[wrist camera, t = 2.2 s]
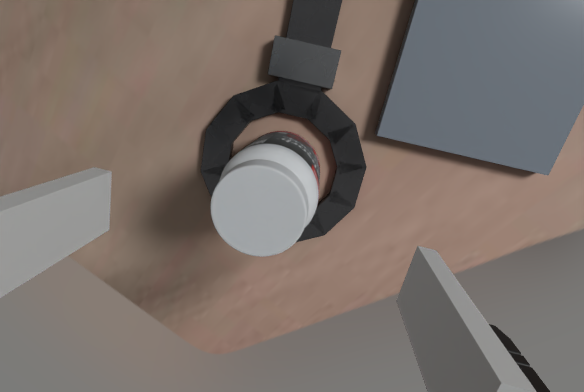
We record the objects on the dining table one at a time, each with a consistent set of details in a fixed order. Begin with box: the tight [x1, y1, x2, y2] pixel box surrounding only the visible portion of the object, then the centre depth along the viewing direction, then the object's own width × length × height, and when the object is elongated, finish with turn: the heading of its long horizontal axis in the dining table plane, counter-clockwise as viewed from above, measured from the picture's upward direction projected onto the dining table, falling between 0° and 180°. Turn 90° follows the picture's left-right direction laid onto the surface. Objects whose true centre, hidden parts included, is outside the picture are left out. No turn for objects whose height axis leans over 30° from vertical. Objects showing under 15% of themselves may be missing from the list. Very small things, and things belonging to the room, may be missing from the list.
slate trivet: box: [375, 0, 584, 175], centre depth 21 cm, size 12×12×1 cm
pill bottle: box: [211, 131, 320, 256], centre depth 20 cm, size 6×6×10 cm
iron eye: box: [201, 0, 366, 242], centre depth 23 cm, size 12×21×1 cm, turn 168°
